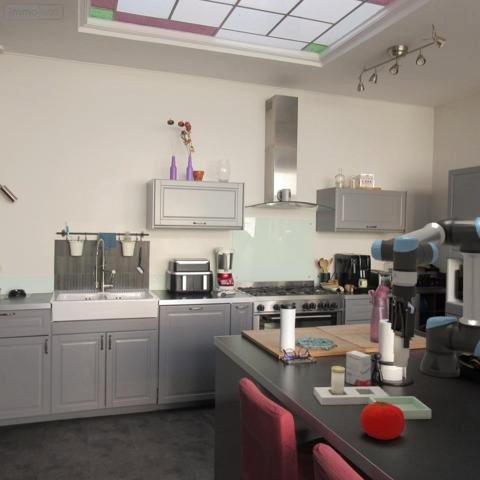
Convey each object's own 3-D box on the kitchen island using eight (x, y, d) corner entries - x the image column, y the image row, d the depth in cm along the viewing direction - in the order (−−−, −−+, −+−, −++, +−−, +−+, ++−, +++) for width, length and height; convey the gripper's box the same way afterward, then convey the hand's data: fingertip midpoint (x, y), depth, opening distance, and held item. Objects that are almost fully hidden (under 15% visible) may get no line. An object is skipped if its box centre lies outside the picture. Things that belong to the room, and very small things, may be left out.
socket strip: (378, 393, 179) (379, 363, 179) (389, 403, 169) (391, 371, 169) (313, 394, 176) (314, 363, 176) (321, 404, 166) (322, 372, 166)
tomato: (410, 444, 138) (412, 408, 138) (366, 445, 137) (367, 408, 137) (395, 427, 150) (396, 394, 149) (354, 428, 149) (355, 394, 148)
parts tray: (413, 404, 169) (413, 396, 169) (431, 418, 157) (431, 409, 157) (368, 405, 167) (368, 397, 167) (382, 419, 155) (383, 410, 155)
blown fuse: (404, 363, 164) (405, 330, 164) (410, 367, 159) (411, 333, 159) (390, 363, 164) (392, 330, 163) (396, 367, 159) (398, 333, 158)
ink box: (371, 386, 186) (372, 355, 186) (361, 388, 184) (363, 357, 183) (354, 379, 194) (355, 350, 193) (344, 381, 191) (345, 351, 190)
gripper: (382, 280, 169) (379, 348, 170) (405, 287, 151) (401, 363, 152) (403, 280, 169) (400, 348, 170) (428, 288, 152) (424, 363, 153)
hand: (401, 355), depth 161 cm, fingers closed on blown fuse, 4 cm apart
